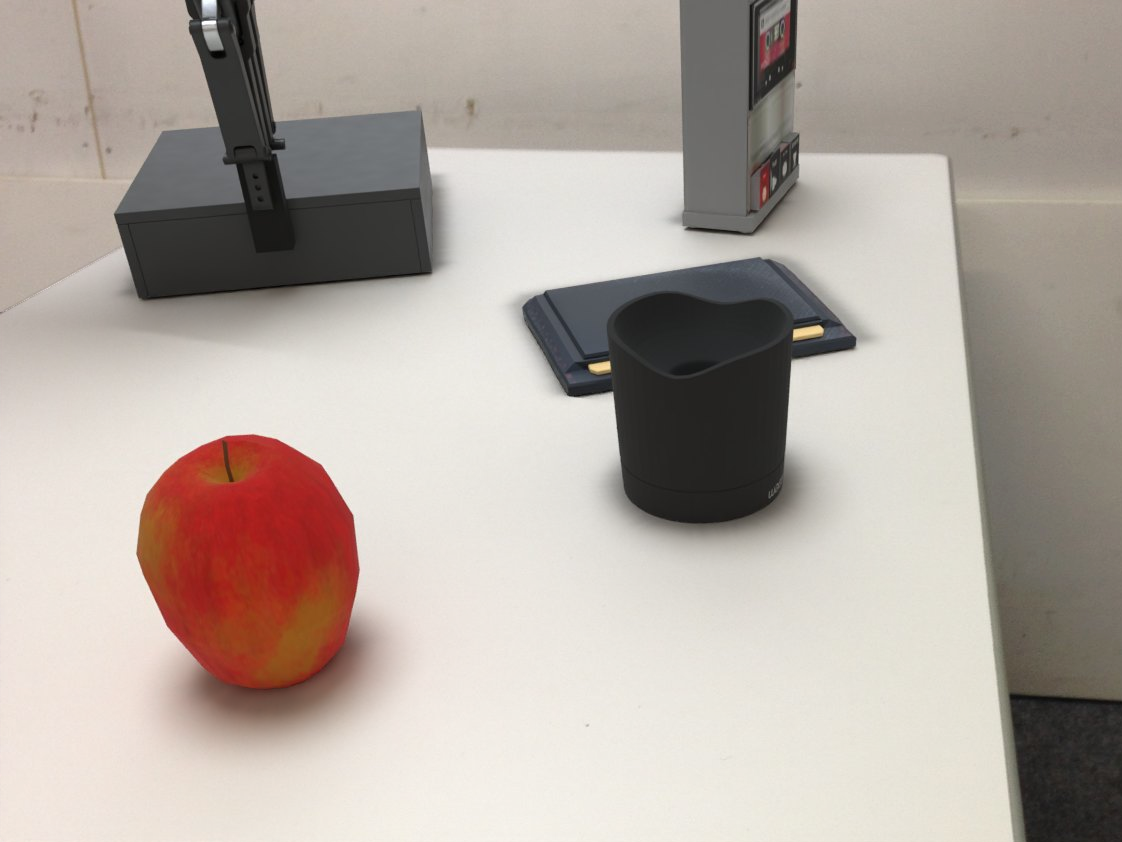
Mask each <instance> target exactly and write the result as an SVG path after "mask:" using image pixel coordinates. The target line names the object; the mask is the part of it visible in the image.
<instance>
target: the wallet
mask: <svg viewBox="0 0 1122 842" xmlns="http://www.w3.org/2000/svg"><path fill="white" fill-rule="evenodd" d="M658 291H679V292H683V293H688V294H692V295H695V296H698V297H702V298H705V299H709V300H713V301H719V302H736V301H742V300H748V299H753V298H762V297H764V298H772V299H774V300H777V301H779V302H781V303H783V304H784V305H785V306H786V307H787V308H788V309H789V310H790V311H791V313H792V315H793V318H794V332H793V347H792V359H794V358H800V357H804V356H805V357H806V356H811V355H817V354H822V353H823V354H824V353H829V352H835V351H841V350H847V349H852V348H855V347H856V346H857V336H855V335H854V334H853V333H852V332H851V331H850V330H849V329H848V328H847V327H846V325H845V324H844V323H843V322H842V320H841V319H840V318H839V317H838V316H837V315H836V314H835V313H834V312H833V311H832V310H831V309H830V308H829V307H828V306H827V305H826V304H825V303H824V302H823V301H822V300H821V299H820V298H819V297H818V296H817V295H816V293H814V292H813V291H812V290H811V289H810V288H809V287H808V286H807V285H806V284H805V283H804V282H803V281H802V280H801V279H800V278H799V277H798V276H797V275H796V274H795V273H794V272H793V271H792V270H790V269H789V268H788V267H787V266H786V265H785V264H783V263H780V262H778V261H776V260H773V259H770V258H766V259H764V258H762V257H760V256H758V257H751V258H745V259H738V260H732V261H731V260H730V261H726V262H719V263H712V264H706V265H699V266H693V267H687V268H680V269H674V270H667V271H662V272H661V271H660V272H655V273H648V274H643V275H642V274H641V275H635V276H630V277H624V278H623V277H622V278H616V279H610V280H603V281H596V282H591V283H584V284H579V285H578V284H577V285H572V286H565V287H559V288H552V289H546V290H545V291H544V292H543V293H541V294H537V295H534V296H533V297H531V298H529V299H528V300H527V301H526V302H525V303H524V304H523V305H522V306H521V309H522V310H521V311H522V315H523V318H524V320H525V323H526V325H527V327H528V328H529V330H530V332H531V333H532V335H533V337H534V338H535V340H536V342H537V343H538V345H539V346H540V348H541V350H542V352H543V353H544V355H545V357H546V359H547V361H548V363H549V364H550V366H551V368H552V370H553V372H554V374H555V376H556V377H557V379H558V381H559V382H560V384H561V385H562V387H563V389H564V391H565V392H566V395H567V396H568V397H575V396H576V397H577V396H584V395H591V394H596V393H602V392H607V391H613V386H612V376H611V367H610V357H609V348H608V338H607V322H608V319H609V317H610V316H611V314H612V313H613V312H614V311H615V310H616V309H617V308H619V307H620V306H621V305H623V304H625V303H626V302H628V301H630V300H632V299H634V298H637V297H639V296H642V295H645V294H648V293H652V292H658Z"/></svg>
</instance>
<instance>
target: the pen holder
mask: <svg viewBox="0 0 1122 842" xmlns="http://www.w3.org/2000/svg"><path fill="white" fill-rule="evenodd" d="M793 332H794V318H793V315H792V313H791V311H790V310H789V309H788V308H787V307H786V306H785V305H784V304H783V303H781V302H779V301H777V300H774V299H772V298H764V297H762V298H753V299H748V300H742V301H736V302H719V301H713V300H709V299H705V298H702V297H698V296H695V295H692V294H688V293H683V292H679V291H658V292H652V293H648V294H645V295H642V296H639V297H637V298H634V299H632V300H630V301H628V302H626V303H625V304H623V305H621V306H620V307H619V308H617V309H616V310H615V311H614V312H613V313H612V314H611V316H610V317H609V319H608V322H607V338H608V348H609V357H610V367H611V376H612V386H613V390H612V393H613V404H614V413H615V414H614V415H615V422H616V423H615V424H616V432H617V433H616V435H617V443H618V452H619V460H620V469H621V476H622V484H623V490H624V494H625V495H626V497H627V498H628V500H629V501H630V502H631V504H633V505H634V506H635V507H637V508H638V509H640V510H641V511H643V512H644V513H647V514H649V515H651V516H652V517H656V518H659V519H662V520H665V521H666V520H667V521H670V522H676V523H681V524H692V525H693V524H696V525H697V524H698V525H699V524H700V525H701V524H717V523H725V522H730V521H735V520H739V519H742V518H746V517H748V516H751V515H753V514H756V513H758V512H759V511H761V510H763V509H764V508H766V507H767V506H769V505H770V504H772V502H774V500H776V499H777V497H778V496H779V494H780V492H781V490H782V487H783V480H784V471H785V458H786V448H787V434H788V421H789V405H790V389H791V378H792V377H791V376H792V362H793V361H792V360H793V358H792V347H793Z"/></svg>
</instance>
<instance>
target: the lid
mask: <svg viewBox="0 0 1122 842" xmlns="http://www.w3.org/2000/svg"><path fill="white" fill-rule="evenodd" d="M275 122H276V132H275V134H273V137H274V138H275V139H281V138H285V146H286V149H285V150H273V151H272V154H274V153H276V154H277V158H278V163H279V168H280V173H281V177H282V182H283V187H284V191H285V196H286V201H287V206H288V210H289V215H290V220H291V225H292V229H293V234H294V239H295V246H294V250H287V251H276V252H264V253H256V250H255V245H254V241H253V237H252V232H251V228H250V224H249V219H248V215H247V211H246V206H245V202H244V198H243V193H242V189H241V185H240V180H239V176H238V172H237V167H236V164H232V165H225V164H224V162H223V159H222V158H223V156H224V154H225V153H226V148H225V144H224V141H223V137H222V134H221V130H220V126H219V125H218V126H207V127H194V128H182V129H172V130H171V129H169V130H162V131H161V133H160V135H159V136H158V138H157V139H156V141H155V143H154V145H153V147H152V148H151V150H150V152H149V153H148V155H147V157H146V158H145V160H144V161H143V163H142V165H141V167H140V168H139V170H138V171H137V173H136V176H135V177H134V179H133V181H132V182H131V184H130V186H129V187H128V189H127V190H126V192H125V194H124V196H123V198H122V199H121V201H120V203H119V204H118V206H117V208H116V209H115V210H114V212H113V217H114V220H115V223H116V225H117V226H116V227H117V229H118V234H119V236H120V240H121V243H122V247H123V251H124V254H125V257H126V260H127V263H128V264H127V265H128V267H129V271H130V274H131V277H132V281H133V284H134V288H135V291H136V294H137V297H138V299H145V298H158V297H170V296H177V295H178V296H181V295H190V294H192V295H193V294H201V293H212V292H213V293H214V292H222V291H233V290H234V291H236V290H247V289H256V288H267V287H268V288H269V287H277V286H278V287H279V286H289V285H290V286H291V285H301V284H310V283H321V282H331V281H343V280H354V279H355V280H356V279H366V278H377V277H386V276H387V277H388V276H399V275H409V274H410V275H411V274H420V273H430V272H431V273H432V272H433V182H432V174H431V166H430V159H429V153H428V146H427V139H426V132H425V125H424V117H423V111H422V109H415V110H403V111H402V110H401V111H390V112H379V113H365V114H355V115H354V114H353V115H343V116H330V117H328V116H327V117H318V118H317V117H316V118H305V119H304V118H303V119H292V120H279V121H275Z"/></svg>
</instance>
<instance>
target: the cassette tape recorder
mask: <svg viewBox="0 0 1122 842" xmlns="http://www.w3.org/2000/svg"><path fill="white" fill-rule="evenodd" d="M798 1H799V0H679V37H680V39H679V40H680V43H679V44H680V85H681V87H680V88H681V89H680V90H681V129H682V169H683V170H682V171H683V172H682V173H683V177H682V178H683V211H682V213H681V218H682V219H681V221H682V223H681V225H682V227H688V228H690V229H698V228H701V229H712V230H721V231H722V230H723V231H731V232H732V231H734V232H739V233H741V234H751V233H753V232H755V230H756V229H757V228H758V226H759V225H760V224H761V223H762V222H763V221H764V219H765V218H766V217H767V216H768V214H770V212H771V211H772V210H773V209H774V208H775V206H776V205H777V204H778V203H779V202H780V200H782V198H783V197H784V196H785V194H787V192H788V190H790V188H792V186H793V185H794V184H795V183H796V182H797V180H798V179H799V178H800V164H799V163H800V162H799V161H800V132H797V131H794V123H795V122H794V121H795V88H796V87H795V86H796V85H795V84H796V70H797V43H798V41H797V40H798V8H799V7H798V5H799V2H798Z"/></svg>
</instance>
